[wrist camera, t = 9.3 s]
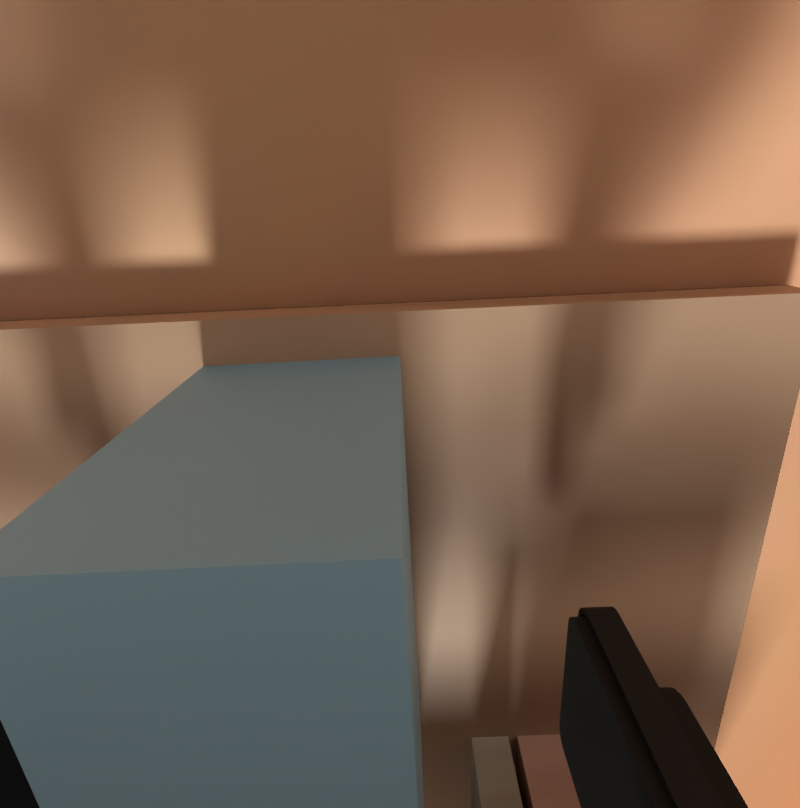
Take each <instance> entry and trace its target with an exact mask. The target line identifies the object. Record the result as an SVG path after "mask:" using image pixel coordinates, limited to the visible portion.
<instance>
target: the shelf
mask: <svg viewBox="0 0 800 808" xmlns="http://www.w3.org/2000/svg"><path fill="white" fill-rule="evenodd" d="M390 356H400V364H401V382H402V400H403V418H404V436H405V454H406V472H407V490H408V508H409V526H410V544H411V562H412V579H413V597H414V615H415V633H416V651H417V669H418V687H419V705H420V725H421V749H422V772H423V796H424V808H581V806H580V803H579V799H578V796H577V793H576V790H575V786H574V783H573V780H572V777H571V773H570V770H569V767H568V763H567V760H566V757H565V754H564V750H563V747H562V742H561V737H560V727H559V725H560V711H561V700H562V688H563V677H564V665H565V653H566V642H567V630H568V621H569V618H570V617H578V611H579V609H580V608H584V607H611V606H613V607H614V608H615V609H616V610H617V612H618V613H619V615H620V617H621V619H622V620H623V622H624V624H625V626H626V628H627V630H628V631H629V633H630V635H631V637H632V639H633V641H634V642H635V644H636V646H637V648H638V650H639V652H640V653H641V655H642V657H643V659H644V661H645V663H646V664H647V666H648V668H649V670H650V672H651V674H652V675H653V677H654V679H655V681H656V683H657V685H658V686H659V687H671V688H675V689H676V690H677V691H678V692H679V693H680V694H681V695H682V697H683V698H684V699H685V701H686V702H687V704H688V706H689V707H690V709H691V711H692V712H693V714H694V716H695V718H696V719H697V721H698V723H699V724H700V726H701V728H702V730H703V731H704V733H705V735H706V736H707V738H708V740H709V741H710V743H711V745H712V747H713V748H715V744H716V739H717V735H718V731H719V727H720V722H721V718H722V714H723V710H724V705H725V701H726V697H727V693H728V689H729V684H730V680H731V676H732V672H733V667H734V663H735V659H736V655H737V650H738V646H739V642H740V638H741V634H742V629H743V625H744V621H745V617H746V612H747V608H748V604H749V600H750V595H751V591H752V587H753V583H754V579H755V574H756V570H757V566H758V562H759V557H760V553H761V549H762V545H763V540H764V536H765V532H766V528H767V524H768V519H769V515H770V511H771V507H772V502H773V498H774V494H775V490H776V486H777V481H778V477H779V473H780V469H781V464H782V460H783V456H784V452H785V447H786V443H787V439H788V435H789V431H790V426H791V422H792V418H793V414H794V409H795V405H796V401H797V397H798V392H799V388H800V288H798V287H793V286H788V285H778V286H756V287H735V288H713V289H691V290H669V291H648V292H626V293H604V294H582V295H561V296H539V297H517V298H496V299H474V300H452V301H430V302H409V303H387V304H365V305H343V306H322V307H300V308H278V309H256V310H235V311H213V312H191V313H169V314H148V315H126V316H104V317H82V318H61V319H39V320H17V321H0V530H1V529H2V528H3V527H4V526H5V525H7V524H8V523H9V522H10V521H12V520H13V519H14V518H15V517H17V516H18V515H19V514H20V513H22V512H23V511H24V510H25V509H27V508H28V507H29V506H30V505H32V504H33V503H34V502H35V501H37V500H38V499H39V498H40V497H42V496H43V495H44V494H45V493H47V492H48V491H49V490H50V489H52V488H53V487H54V486H55V485H56V484H58V483H59V482H60V481H61V480H63V479H64V478H65V477H66V476H68V475H69V474H70V473H71V472H73V471H74V470H75V469H76V468H78V467H79V466H80V465H81V464H83V463H84V462H85V461H86V460H88V459H89V458H90V457H91V456H93V455H94V454H95V453H96V452H98V451H99V450H100V449H101V448H103V447H104V446H105V445H106V444H107V443H109V442H110V441H111V440H112V439H114V438H115V437H116V436H117V435H119V434H120V433H121V432H122V431H124V430H125V429H126V428H127V427H129V426H130V425H131V424H132V423H134V422H135V421H136V420H137V419H139V418H140V417H141V416H142V415H144V414H145V413H146V412H147V411H149V410H150V409H151V408H152V407H154V406H155V405H156V404H157V403H158V402H160V401H161V400H162V399H163V398H165V397H166V396H167V395H168V394H170V393H171V392H172V391H173V390H175V389H176V388H177V387H178V386H180V385H181V384H182V383H183V382H185V381H186V380H187V379H188V378H190V377H191V376H192V375H193V374H195V373H196V372H197V371H198V370H200V369H201V368H202V367H203V366H220V365H239V364H258V363H277V362H296V361H314V360H333V359H352V358H371V357H390Z"/></svg>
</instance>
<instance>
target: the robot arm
mask: <svg viewBox="0 0 800 808" xmlns="http://www.w3.org/2000/svg"><path fill="white" fill-rule="evenodd" d="M559 727H560V737H561V742H562V747H563V750H564V754H565V757H566V760H567V763H568V767H569V770H570V773H571V777H572V780H573V783H574V786H575V790H576V793H577V796H578V799H579V803H580V806H581V808H748V806H747V805H746V803H745V801H744V800H743V798H742V796H741V795H740V793H739V791H738V789H737V788H736V786H735V784H734V783H733V781H732V779H731V777H730V776H729V774H728V772H727V771H726V769H725V767H724V765H723V764H722V762H721V760H720V759H719V757H718V755H717V753H716V752H715V750H714V748H713V747H712V745H711V743H710V741H709V740H708V738H707V736H706V735H705V733H704V731H703V730H702V728H701V726H700V724H699V723H698V721H697V719H696V718H695V716H694V714H693V712H692V711H691V709H690V707H689V706H688V704H687V702H686V701H685V699H684V698H683V697H682V695H681V694H680V693H679V692H678V691H677V690H676V689H675V688H671V687H659V686H658V685H657V683H656V681H655V679H654V677H653V675H652V674H651V672H650V670H649V668H648V666H647V664H646V663H645V661H644V659H643V657H642V655H641V653H640V652H639V650H638V648H637V646H636V644H635V642H634V641H633V639H632V637H631V635H630V633H629V631H628V630H627V628H626V626H625V624H624V622H623V620H622V619H621V617H620V615H619V613H618V612H617V610H616V609H615V608H614V607H613V606H611V607H584V608H580V609H579V611H578V617H570V618H569V621H568V630H567V642H566V653H565V665H564V677H563V688H562V700H561V711H560V725H559ZM0 808H40V807H39V805H38V803H37V801H36V798H35V796H34V794H33V792H32V789H31V787H30V785H29V783H28V780H27V778H26V776H25V774H24V771H23V769H22V767H21V765H20V763H19V760H18V758H17V756H16V754H15V751H14V749H13V747H12V745H11V742H10V740H9V738H8V736H7V733H6V731H5V729H4V727H3V724H2V722H1V720H0Z"/></svg>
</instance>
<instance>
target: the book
mask: <svg viewBox="0 0 800 808" xmlns="http://www.w3.org/2000/svg"><path fill="white" fill-rule="evenodd" d="M0 720H1V722H2V724H3V727H4V729H5V731H6V733H7V736H8V738H9V740H10V742H11V745H12V747H13V749H14V751H15V754H16V756H17V758H18V760H19V763H20V765H21V767H22V769H23V771H24V774H25V776H26V778H27V780H28V783H29V785H30V787H31V789H32V792H33V794H34V796H35V798H36V801H37V803H38V805H39V807H40V808H424V796H423V772H422V749H421V725H420V705H419V687H418V669H417V651H416V633H415V615H414V597H413V579H412V562H411V544H410V526H409V508H408V490H407V472H406V454H405V436H404V418H403V400H402V382H401V364H400V356H390V357H371V358H352V359H333V360H314V361H296V362H277V363H258V364H239V365H220V366H203V367H202V368H201V369H200V370H198V371H197V372H196V373H195V374H193V375H192V376H191V377H190V378H188V379H187V380H186V381H185V382H183V383H182V384H181V385H180V386H178V387H177V388H176V389H175V390H173V391H172V392H171V393H170V394H168V395H167V396H166V397H165V398H163V399H162V400H161V401H160V402H158V403H157V404H156V405H155V406H154V407H152V408H151V409H150V410H149V411H147V412H146V413H145V414H144V415H142V416H141V417H140V418H139V419H137V420H136V421H135V422H134V423H132V424H131V425H130V426H129V427H127V428H126V429H125V430H124V431H122V432H121V433H120V434H119V435H117V436H116V437H115V438H114V439H112V440H111V441H110V442H109V443H107V444H106V445H105V446H104V447H103V448H101V449H100V450H99V451H98V452H96V453H95V454H94V455H93V456H91V457H90V458H89V459H88V460H86V461H85V462H84V463H83V464H81V465H80V466H79V467H78V468H76V469H75V470H74V471H73V472H71V473H70V474H69V475H68V476H66V477H65V478H64V479H63V480H61V481H60V482H59V483H58V484H56V485H55V486H54V487H53V488H52V489H50V490H49V491H48V492H47V493H45V494H44V495H43V496H42V497H40V498H39V499H38V500H37V501H35V502H34V503H33V504H32V505H30V506H29V507H28V508H27V509H25V510H24V511H23V512H22V513H20V514H19V515H18V516H17V517H15V518H14V519H13V520H12V521H10V522H9V523H8V524H7V525H5V526H4V527H3V528H2V529H1V530H0Z"/></svg>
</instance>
